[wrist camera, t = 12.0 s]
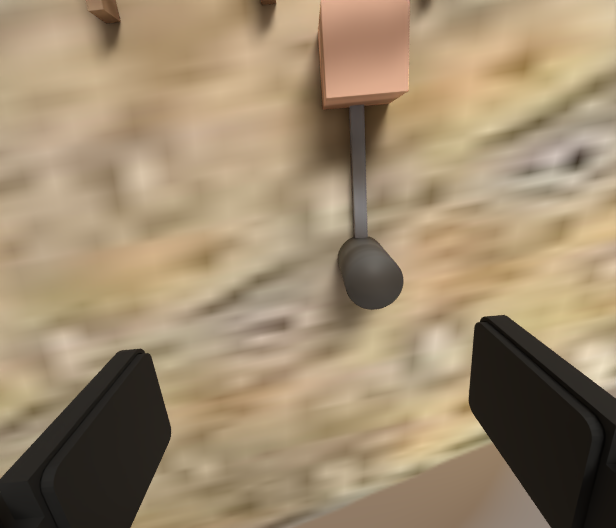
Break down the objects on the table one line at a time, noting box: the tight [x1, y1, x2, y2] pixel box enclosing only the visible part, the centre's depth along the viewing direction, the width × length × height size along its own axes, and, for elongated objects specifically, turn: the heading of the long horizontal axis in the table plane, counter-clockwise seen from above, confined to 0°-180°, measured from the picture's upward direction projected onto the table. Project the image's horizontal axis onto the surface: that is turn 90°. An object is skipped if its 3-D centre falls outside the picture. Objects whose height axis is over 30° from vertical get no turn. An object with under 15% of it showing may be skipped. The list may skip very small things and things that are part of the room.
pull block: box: [318, 0, 410, 310], centre depth 23 cm, size 19×5×6 cm, turn 5°
